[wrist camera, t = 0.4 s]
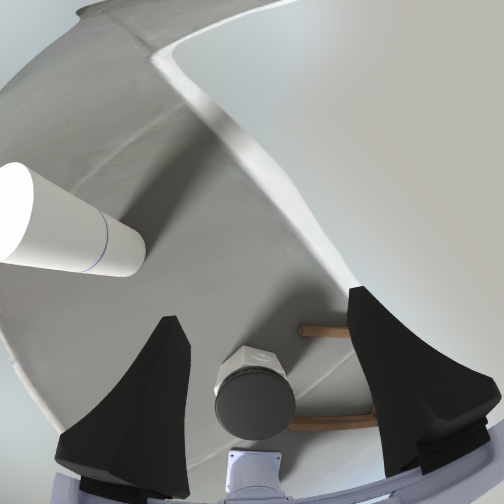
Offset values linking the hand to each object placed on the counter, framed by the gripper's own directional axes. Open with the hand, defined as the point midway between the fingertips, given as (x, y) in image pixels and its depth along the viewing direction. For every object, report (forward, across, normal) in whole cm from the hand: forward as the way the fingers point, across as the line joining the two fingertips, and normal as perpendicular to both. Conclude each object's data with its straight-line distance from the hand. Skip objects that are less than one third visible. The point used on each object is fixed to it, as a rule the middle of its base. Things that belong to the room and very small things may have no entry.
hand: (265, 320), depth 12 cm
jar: (+14, +4, +26) cm, 30 cm away
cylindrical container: (+25, +20, +10) cm, 33 cm away
